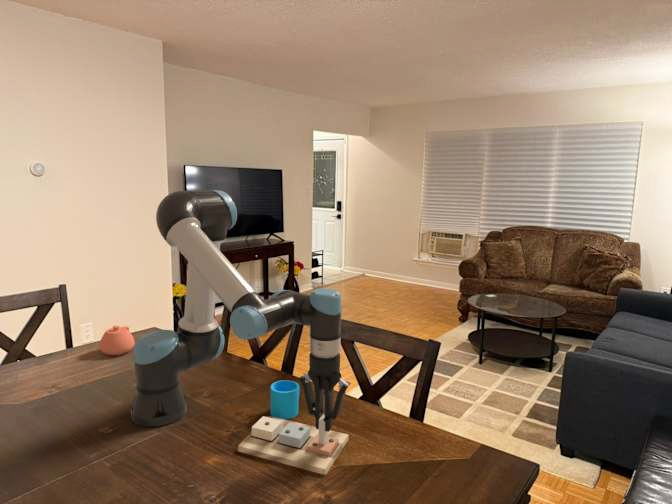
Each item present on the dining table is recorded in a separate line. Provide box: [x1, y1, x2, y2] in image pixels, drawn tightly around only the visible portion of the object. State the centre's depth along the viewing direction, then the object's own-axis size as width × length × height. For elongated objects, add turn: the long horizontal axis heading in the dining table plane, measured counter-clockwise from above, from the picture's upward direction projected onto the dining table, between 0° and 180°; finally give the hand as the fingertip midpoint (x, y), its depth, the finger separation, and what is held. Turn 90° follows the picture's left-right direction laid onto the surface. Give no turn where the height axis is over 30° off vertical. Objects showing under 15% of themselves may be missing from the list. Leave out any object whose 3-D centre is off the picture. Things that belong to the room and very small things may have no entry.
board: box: [237, 415, 350, 476], centre depth 122 cm, size 24×16×2 cm, turn 69°
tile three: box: [307, 434, 338, 457], centre depth 119 cm, size 6×6×3 cm
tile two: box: [278, 422, 310, 449], centre depth 122 cm, size 6×6×3 cm
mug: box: [270, 379, 301, 420], centre depth 140 cm, size 12×8×8 cm
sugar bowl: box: [98, 325, 136, 356], centre depth 181 cm, size 12×14×10 cm
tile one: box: [251, 415, 283, 442], centre depth 124 cm, size 6×6×3 cm
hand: (323, 441), depth 119 cm, fingers closed
